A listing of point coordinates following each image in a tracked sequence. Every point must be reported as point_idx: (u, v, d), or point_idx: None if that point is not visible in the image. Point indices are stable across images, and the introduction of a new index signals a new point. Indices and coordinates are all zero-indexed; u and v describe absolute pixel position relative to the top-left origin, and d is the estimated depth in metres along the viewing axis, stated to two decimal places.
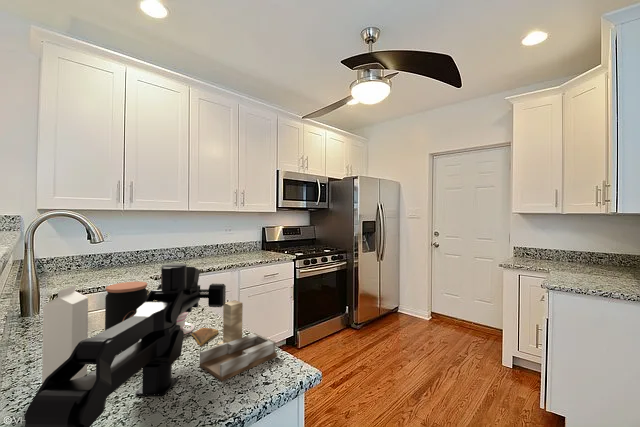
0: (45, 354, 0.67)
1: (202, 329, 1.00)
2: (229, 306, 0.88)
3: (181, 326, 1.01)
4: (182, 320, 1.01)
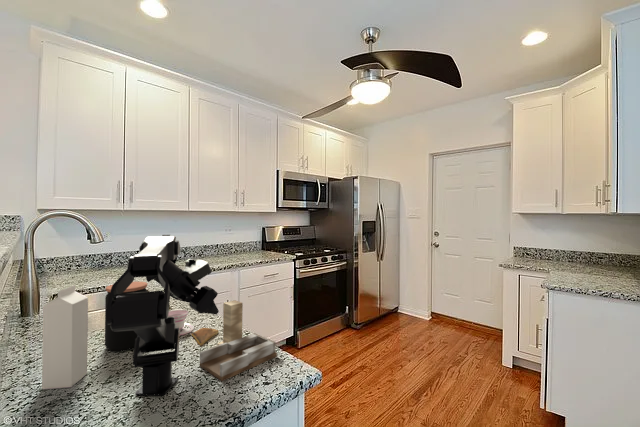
0: (45, 354, 0.67)
1: (202, 329, 1.00)
2: (229, 306, 0.88)
3: (181, 326, 1.01)
4: (182, 320, 1.01)
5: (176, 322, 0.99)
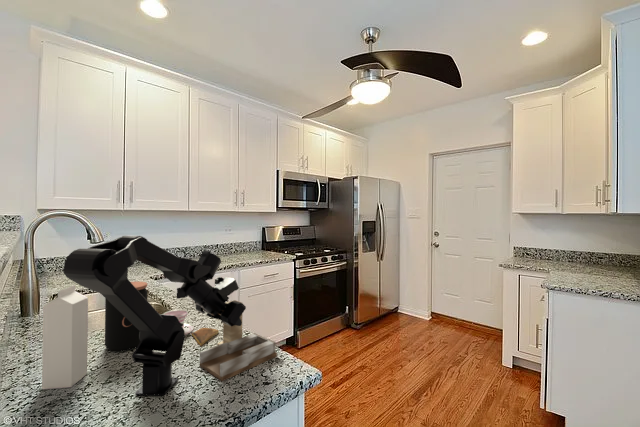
0: (45, 354, 0.67)
1: (202, 329, 1.00)
2: None
3: None
4: (181, 321, 1.00)
5: None
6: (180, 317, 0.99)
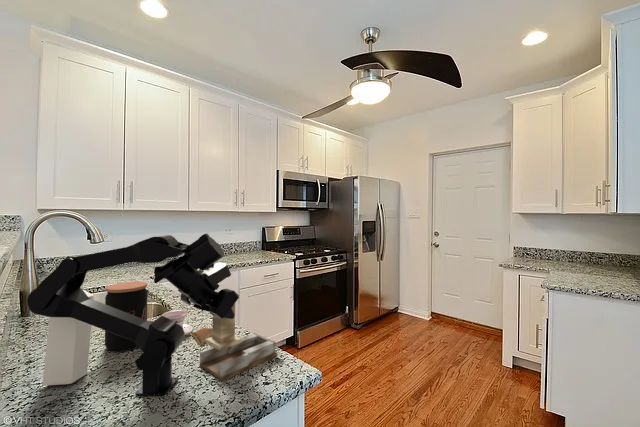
0: (48, 349, 0.68)
1: (202, 329, 1.00)
2: None
3: None
4: (180, 322, 0.99)
5: None
6: (179, 318, 0.98)
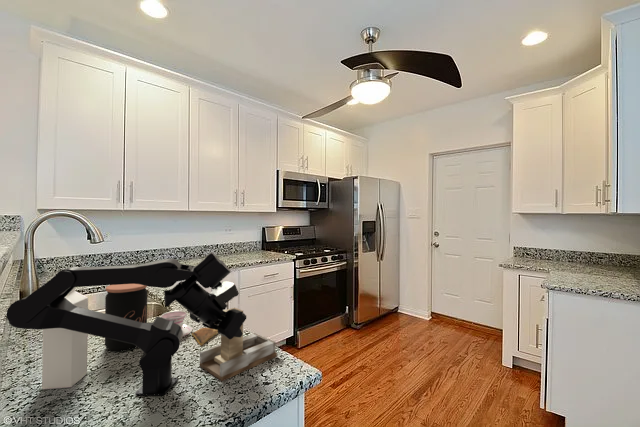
0: (45, 354, 0.67)
1: (202, 329, 1.00)
2: None
3: None
4: (180, 322, 0.99)
5: None
6: (178, 318, 0.98)
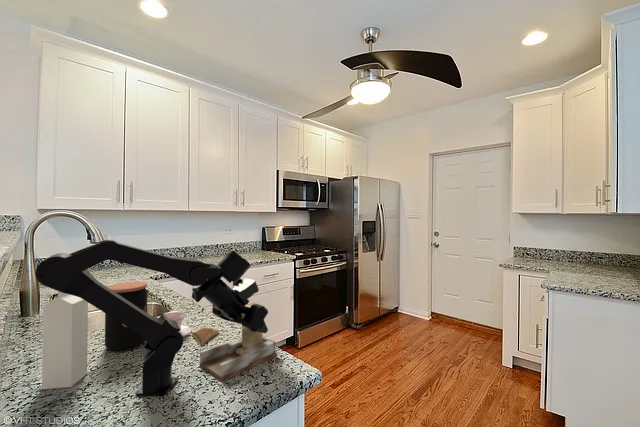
0: (45, 354, 0.67)
1: (202, 329, 1.00)
2: None
3: None
4: (178, 323, 0.98)
5: None
6: (177, 319, 0.97)
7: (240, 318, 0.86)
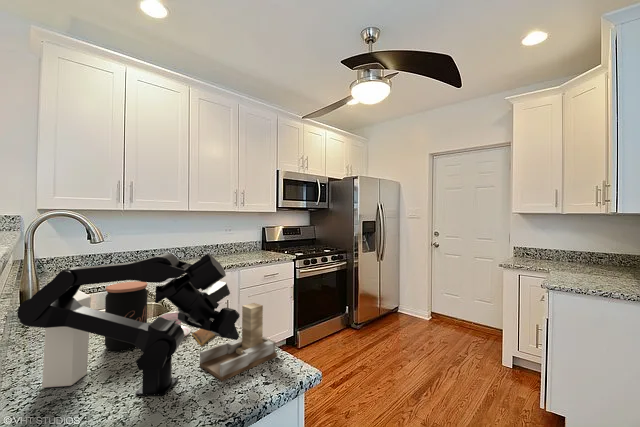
0: (47, 351, 0.68)
1: (202, 329, 1.00)
2: (249, 309, 0.81)
3: None
4: (178, 323, 0.98)
5: None
6: (176, 319, 0.96)
7: (209, 325, 0.80)
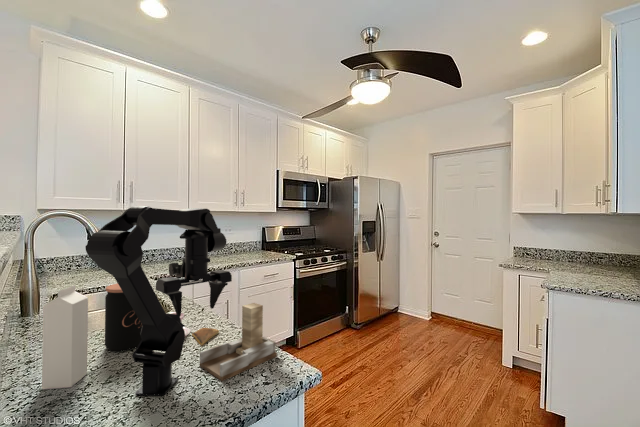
0: (45, 354, 0.67)
1: (202, 329, 1.00)
2: (249, 309, 0.81)
3: None
4: None
5: None
6: None
7: None
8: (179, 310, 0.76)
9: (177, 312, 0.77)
